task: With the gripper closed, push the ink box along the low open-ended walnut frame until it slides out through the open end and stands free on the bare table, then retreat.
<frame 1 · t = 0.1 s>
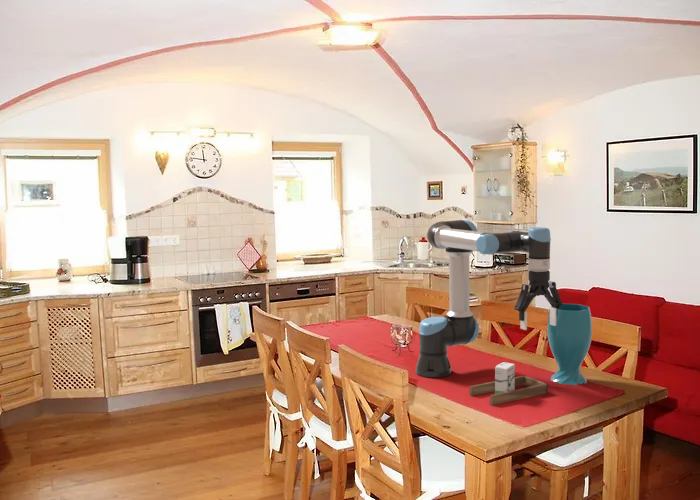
hand: (538, 327, 244), 28 cm above the table, fingers open, 13 cm apart
vase: (568, 379, 271), on the table
walnut frame: (508, 394, 254), on the table
ink box: (504, 395, 254), resting in walnut frame
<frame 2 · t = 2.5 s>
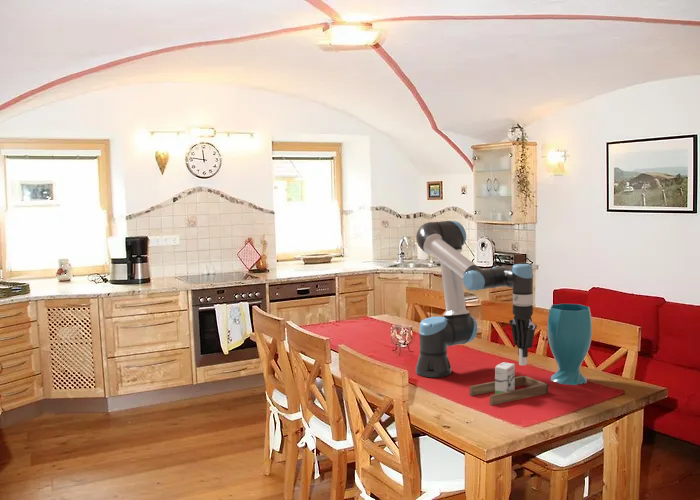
hand: (522, 364, 256), 11 cm above the table, fingers closed
nothing on the table moved.
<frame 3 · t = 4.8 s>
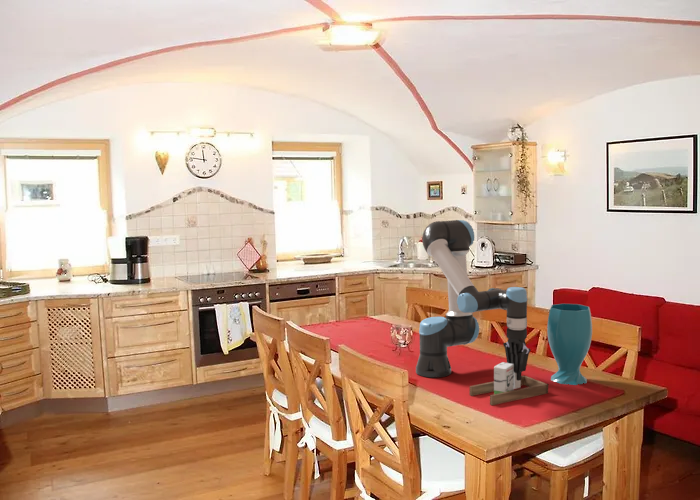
hand: (516, 387, 256), 2 cm above the table, fingers closed
ink box: (503, 395, 253), resting in walnut frame, touching gripper
everything else where it was.
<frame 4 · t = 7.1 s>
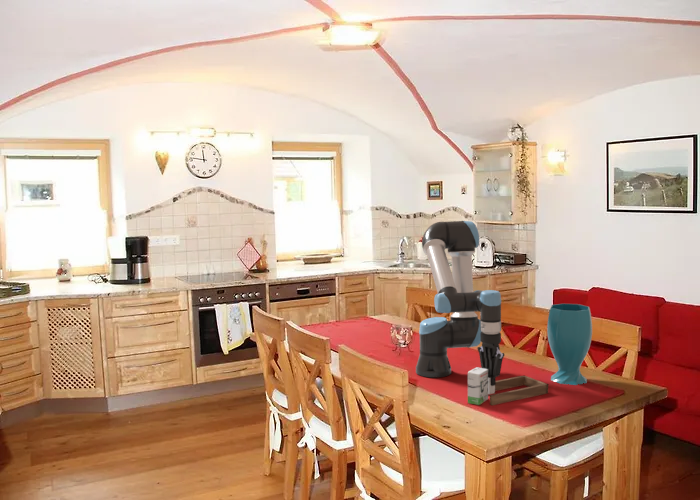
hand: (490, 393, 250), 2 cm above the table, fingers closed
ink box: (477, 401, 247), on the table, touching gripper
everything else where it was.
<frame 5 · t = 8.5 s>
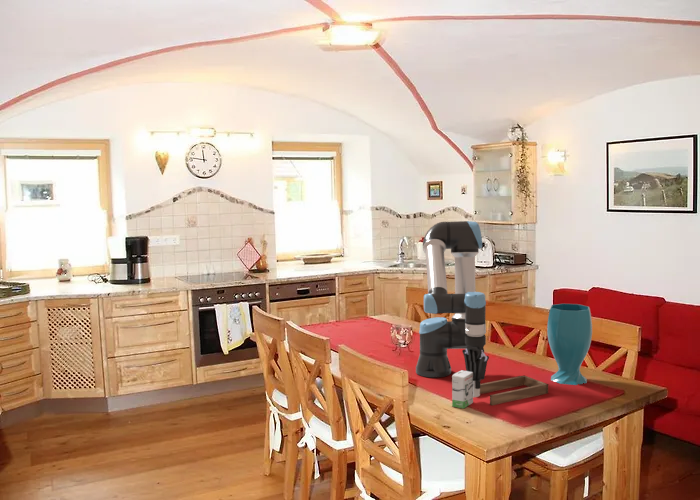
hand: (475, 396, 247), 2 cm above the table, fingers closed
ink box: (462, 405, 244), on the table, touching gripper
everything else where it was.
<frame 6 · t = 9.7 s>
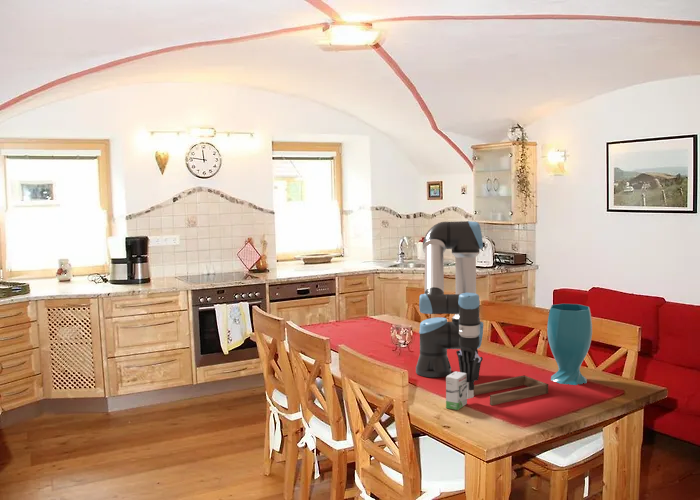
hand: (469, 397, 246), 2 cm above the table, fingers closed
ink box: (456, 406, 243), on the table, touching gripper
everything else where it was.
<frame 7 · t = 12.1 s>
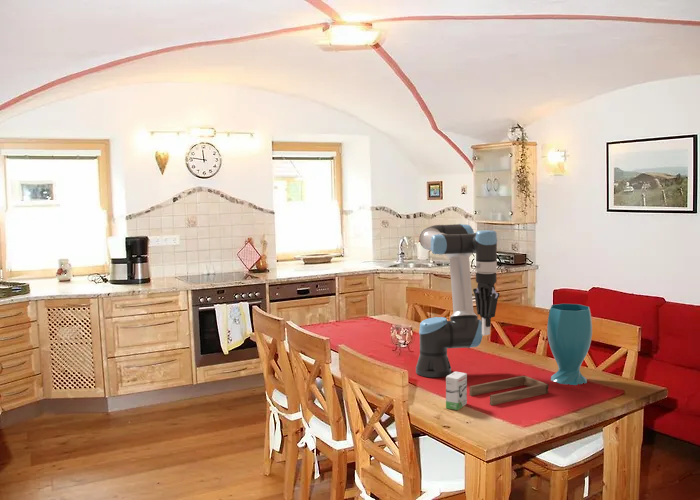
hand: (485, 334, 248), 25 cm above the table, fingers closed
ink box: (456, 406, 243), on the table
everything else where it was.
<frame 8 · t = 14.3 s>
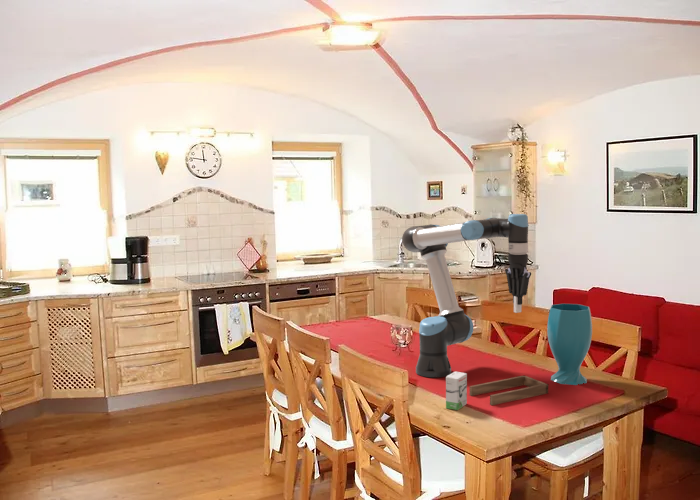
hand: (517, 312, 263), 29 cm above the table, fingers closed
nothing on the table moved.
at the end: ink box inside the target area (1.8 cm from its centre), on the table; ink box tilted 0° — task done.
